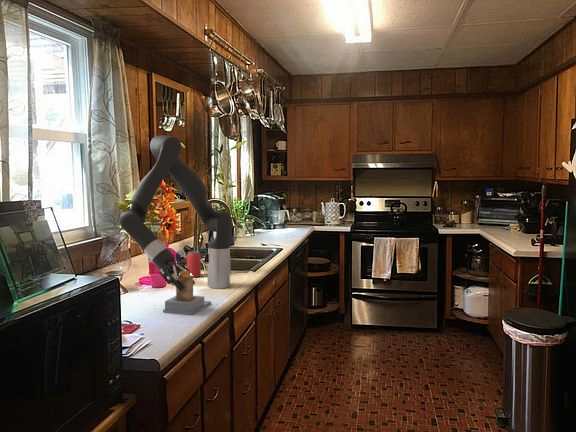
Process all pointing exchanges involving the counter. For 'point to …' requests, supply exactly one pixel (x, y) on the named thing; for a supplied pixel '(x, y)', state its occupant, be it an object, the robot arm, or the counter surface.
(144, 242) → the robot arm
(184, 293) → the brown bottle
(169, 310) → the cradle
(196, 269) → the beer can
